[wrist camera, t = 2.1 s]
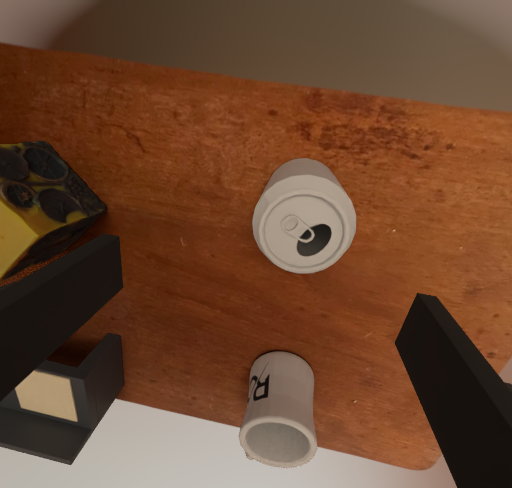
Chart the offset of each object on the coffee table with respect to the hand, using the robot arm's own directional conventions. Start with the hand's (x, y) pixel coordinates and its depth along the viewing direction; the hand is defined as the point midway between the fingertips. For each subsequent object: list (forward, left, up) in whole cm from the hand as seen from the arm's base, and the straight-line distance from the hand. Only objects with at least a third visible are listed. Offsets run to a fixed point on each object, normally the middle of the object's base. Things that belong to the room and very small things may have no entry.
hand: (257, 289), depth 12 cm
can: (+2, +1, -19) cm, 20 cm away
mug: (+19, -21, -19) cm, 34 cm away
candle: (-19, -20, -19) cm, 34 cm away
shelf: (-8, -43, -19) cm, 47 cm away
